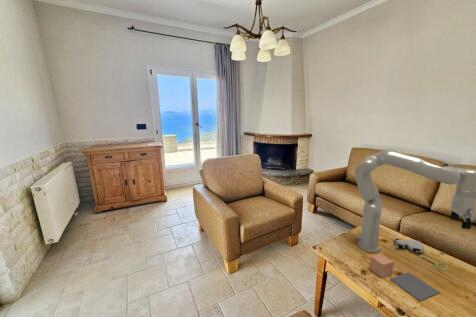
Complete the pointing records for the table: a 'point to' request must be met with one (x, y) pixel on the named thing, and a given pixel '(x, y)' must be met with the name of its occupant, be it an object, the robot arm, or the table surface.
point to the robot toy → (409, 245)
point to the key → (435, 263)
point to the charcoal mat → (414, 286)
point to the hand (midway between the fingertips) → (459, 223)
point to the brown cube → (381, 265)
